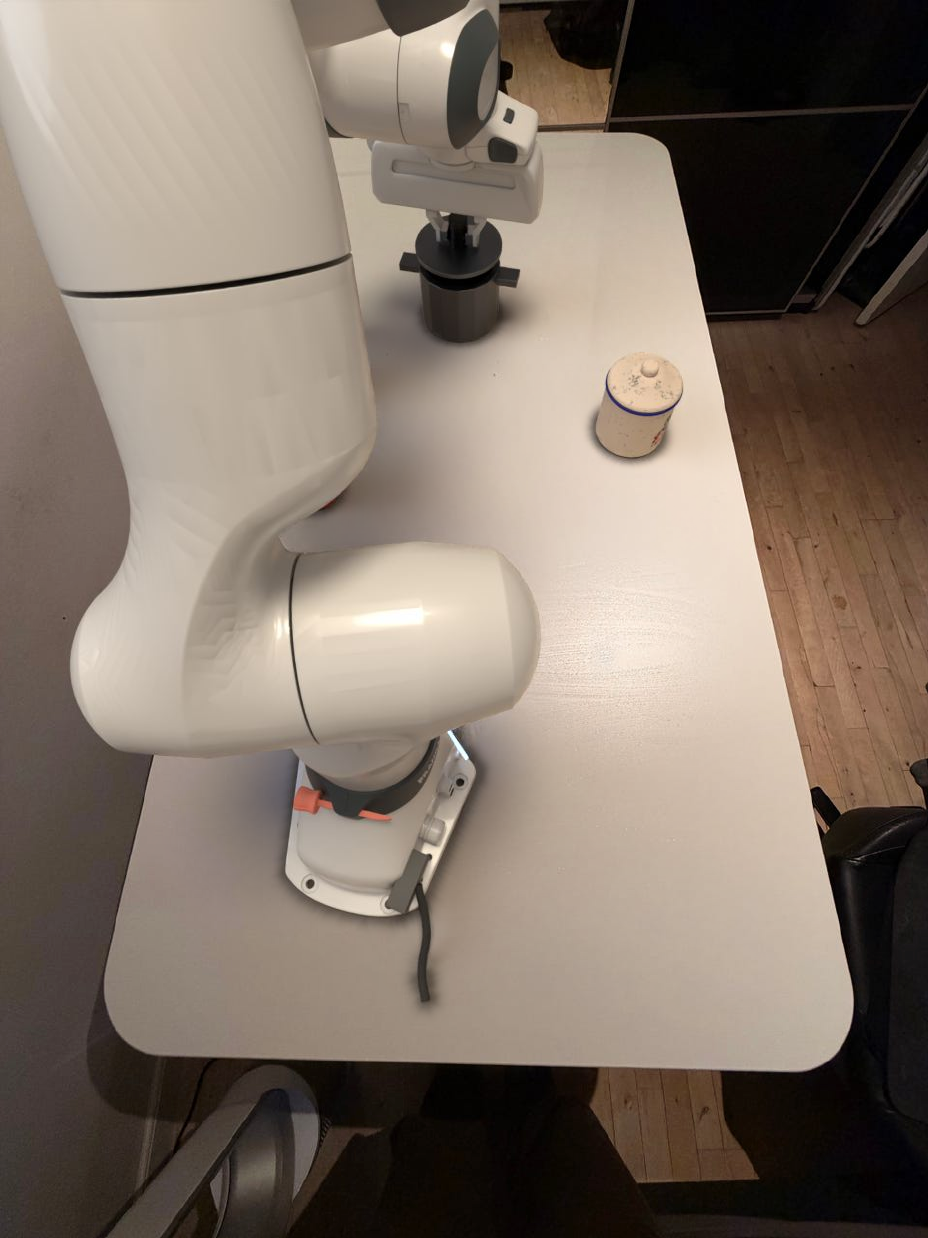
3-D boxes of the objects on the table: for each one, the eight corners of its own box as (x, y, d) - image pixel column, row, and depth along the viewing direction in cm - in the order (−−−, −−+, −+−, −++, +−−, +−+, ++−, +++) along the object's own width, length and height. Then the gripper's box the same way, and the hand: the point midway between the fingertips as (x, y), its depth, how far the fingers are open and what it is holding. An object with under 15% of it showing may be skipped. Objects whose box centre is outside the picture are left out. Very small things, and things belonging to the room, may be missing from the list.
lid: (492, 289, 80) (493, 255, 75) (406, 275, 81) (402, 241, 77) (509, 228, 84) (511, 193, 80) (427, 216, 85) (425, 181, 81)
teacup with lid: (662, 463, 81) (691, 399, 70) (591, 456, 82) (608, 391, 71) (664, 390, 85) (691, 319, 75) (596, 383, 86) (614, 312, 75)
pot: (507, 351, 89) (510, 299, 81) (397, 333, 90) (389, 280, 82) (522, 296, 92) (526, 242, 85) (416, 280, 94) (410, 225, 86)
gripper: (353, 126, 68) (373, 246, 81) (542, 151, 66) (531, 270, 79) (370, 91, 70) (386, 213, 83) (553, 114, 68) (540, 235, 81)
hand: (458, 241), depth 81 cm, fingers closed on lid, 2 cm apart
